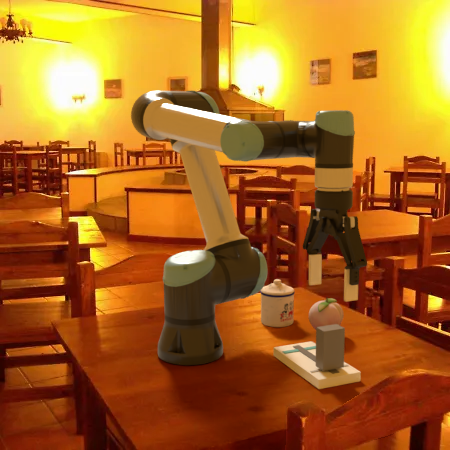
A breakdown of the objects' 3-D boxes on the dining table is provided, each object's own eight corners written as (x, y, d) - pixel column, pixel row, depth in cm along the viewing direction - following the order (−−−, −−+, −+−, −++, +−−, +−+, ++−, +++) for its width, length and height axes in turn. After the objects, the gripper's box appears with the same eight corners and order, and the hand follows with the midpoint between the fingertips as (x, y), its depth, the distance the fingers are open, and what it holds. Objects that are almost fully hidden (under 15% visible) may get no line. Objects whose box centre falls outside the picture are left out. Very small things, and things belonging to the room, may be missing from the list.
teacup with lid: (285, 330, 165) (286, 286, 163) (254, 324, 170) (254, 281, 168) (303, 317, 176) (304, 275, 174) (273, 312, 180) (273, 272, 178)
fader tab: (323, 371, 132) (323, 331, 131) (315, 365, 135) (316, 327, 134) (343, 367, 134) (344, 328, 133) (335, 362, 137) (336, 324, 135)
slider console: (318, 389, 129) (318, 378, 129) (273, 355, 148) (273, 346, 147) (360, 381, 133) (360, 371, 133) (311, 349, 151) (311, 340, 151)
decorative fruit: (314, 327, 167) (315, 290, 165) (345, 332, 163) (346, 294, 162) (303, 339, 158) (303, 300, 157) (335, 343, 155) (336, 303, 153)
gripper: (387, 194, 118) (384, 305, 122) (317, 182, 141) (316, 276, 144) (353, 196, 115) (350, 310, 119) (287, 184, 138) (287, 280, 142)
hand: (332, 292), depth 132 cm, fingers open, 13 cm apart
